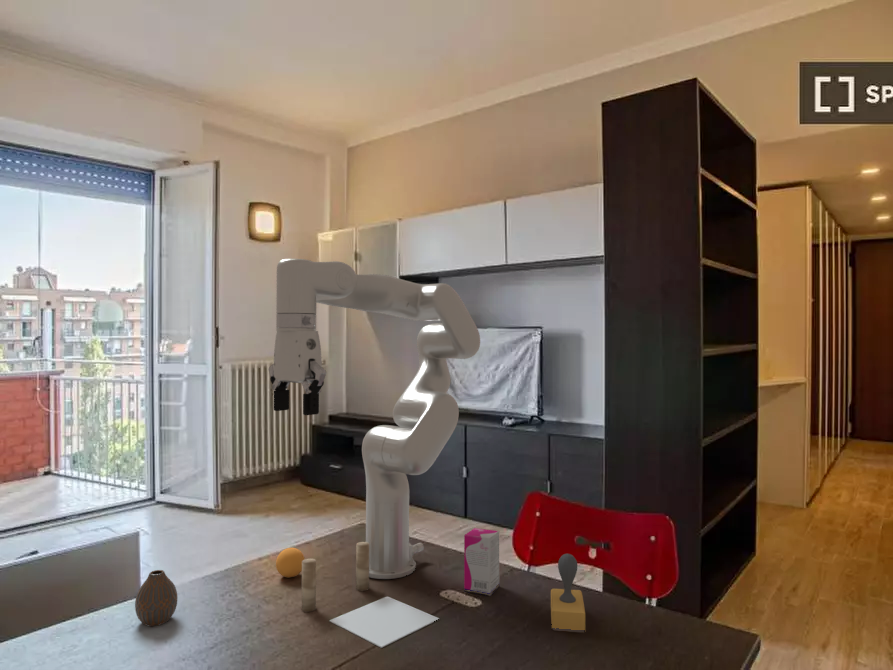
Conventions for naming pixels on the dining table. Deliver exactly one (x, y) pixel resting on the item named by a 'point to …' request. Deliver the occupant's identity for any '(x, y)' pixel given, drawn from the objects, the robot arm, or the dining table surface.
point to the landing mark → (384, 621)
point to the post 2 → (362, 566)
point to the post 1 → (308, 585)
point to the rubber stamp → (567, 598)
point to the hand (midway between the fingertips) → (295, 412)
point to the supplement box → (481, 560)
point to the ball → (289, 562)
